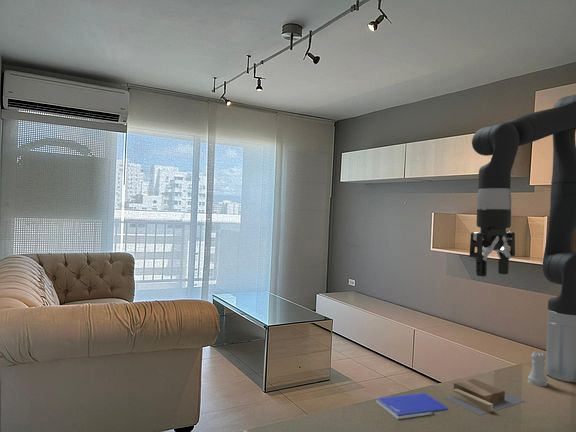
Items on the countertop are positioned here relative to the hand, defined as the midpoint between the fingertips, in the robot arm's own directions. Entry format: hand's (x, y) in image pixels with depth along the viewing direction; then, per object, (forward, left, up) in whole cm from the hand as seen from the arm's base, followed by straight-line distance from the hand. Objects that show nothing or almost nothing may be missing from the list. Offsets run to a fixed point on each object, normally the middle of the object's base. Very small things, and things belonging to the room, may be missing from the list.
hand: (492, 275), depth 105 cm
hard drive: (+25, -1, -28) cm, 38 cm away
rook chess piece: (-14, +4, -28) cm, 31 cm away
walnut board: (+11, +3, -26) cm, 28 cm away
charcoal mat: (+8, +5, -27) cm, 29 cm away
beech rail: (+12, +5, -27) cm, 30 cm away
